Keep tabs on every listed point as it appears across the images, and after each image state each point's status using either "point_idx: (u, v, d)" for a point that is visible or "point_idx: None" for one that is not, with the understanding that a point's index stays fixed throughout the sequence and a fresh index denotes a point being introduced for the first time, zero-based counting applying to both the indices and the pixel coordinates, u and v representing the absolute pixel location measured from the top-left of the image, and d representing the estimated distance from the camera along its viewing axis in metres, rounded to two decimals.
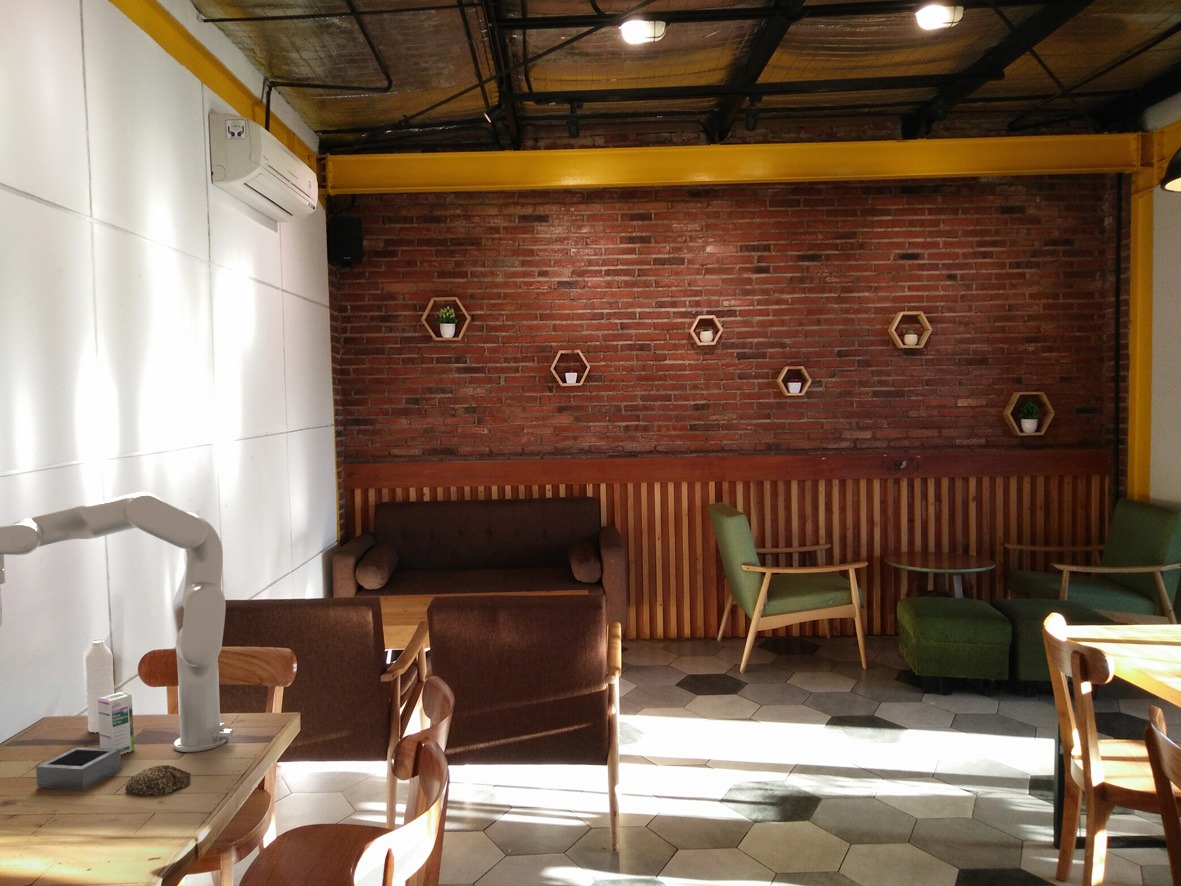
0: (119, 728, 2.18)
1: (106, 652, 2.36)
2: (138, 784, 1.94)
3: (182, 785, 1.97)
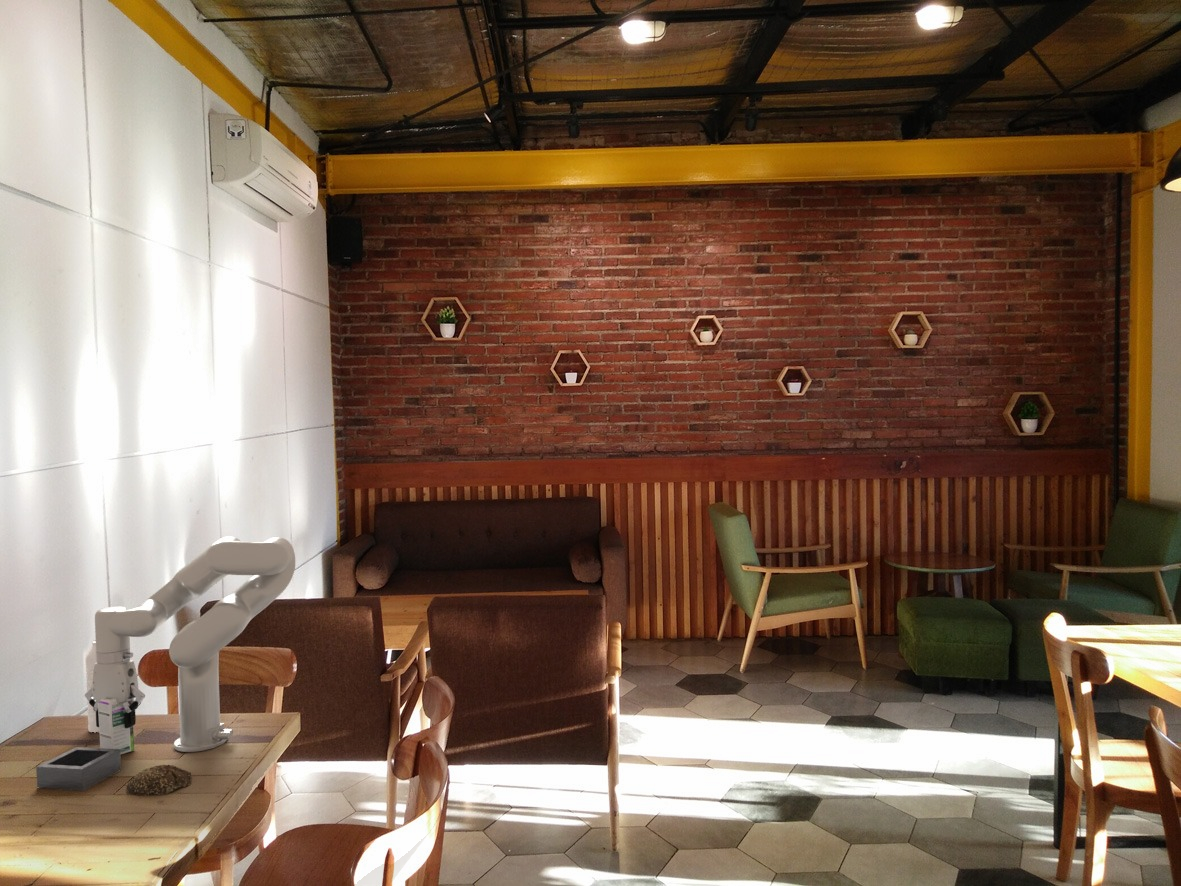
0: (119, 728, 2.18)
1: None
2: (139, 783, 1.94)
3: (183, 785, 1.97)
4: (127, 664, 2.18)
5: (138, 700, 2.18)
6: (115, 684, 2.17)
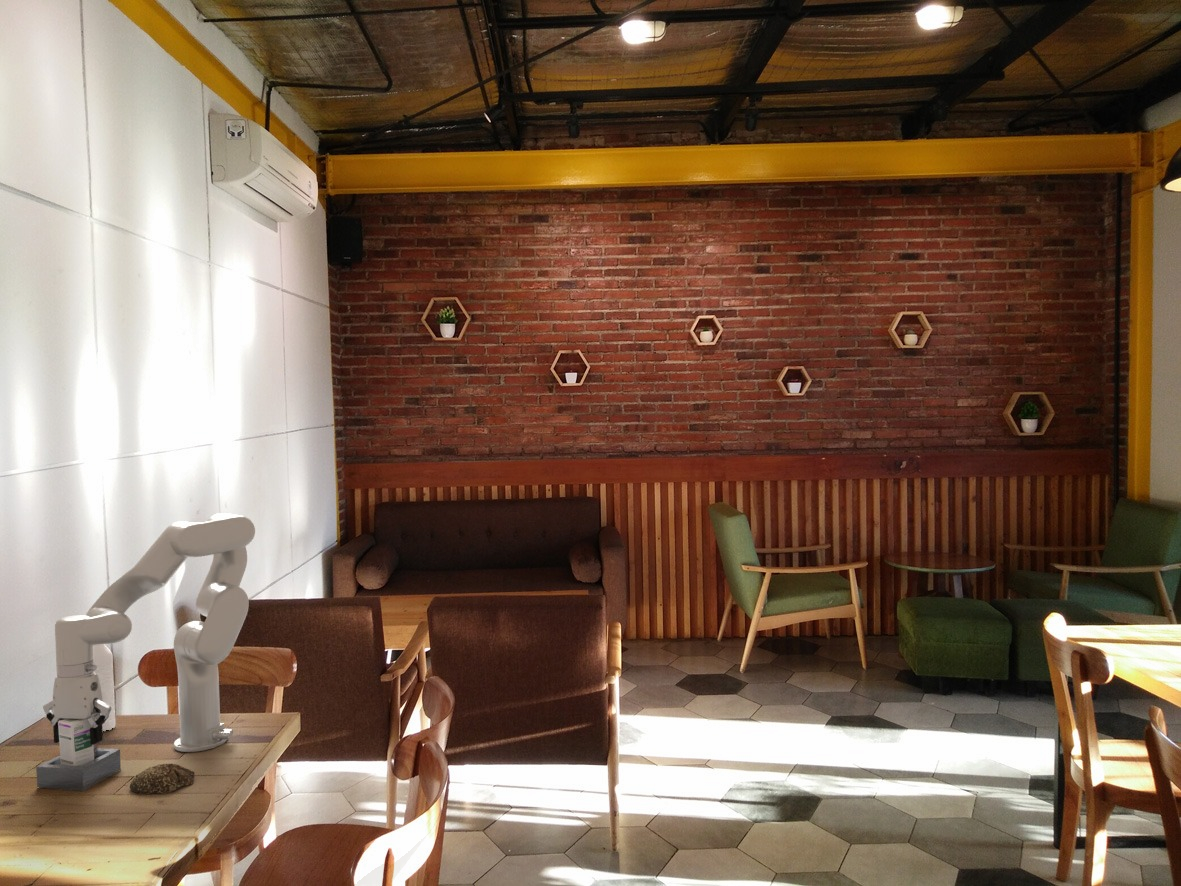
0: (82, 753, 2.02)
1: (106, 652, 2.36)
2: (142, 782, 1.95)
3: (186, 783, 1.98)
4: (90, 677, 2.02)
5: (104, 713, 2.01)
6: (77, 699, 2.01)
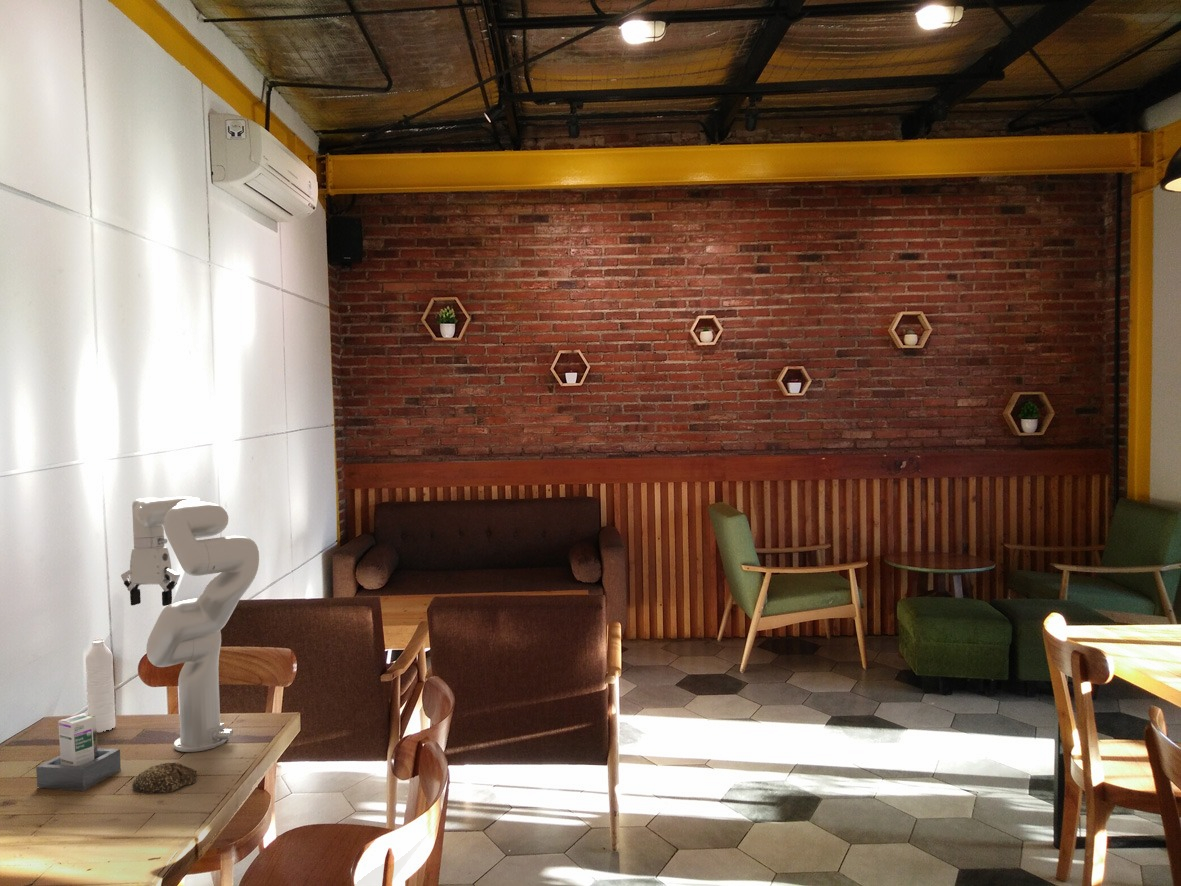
0: (82, 753, 2.02)
1: (106, 652, 2.36)
2: (145, 781, 1.96)
3: (188, 782, 1.99)
4: (162, 549, 2.38)
5: (174, 579, 2.37)
6: (151, 567, 2.37)
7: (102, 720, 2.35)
